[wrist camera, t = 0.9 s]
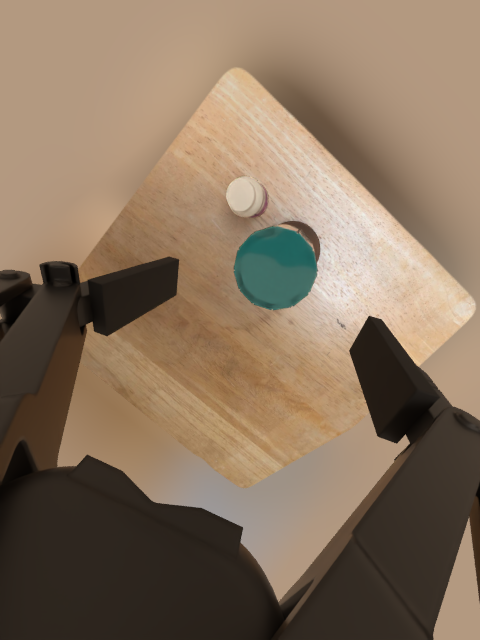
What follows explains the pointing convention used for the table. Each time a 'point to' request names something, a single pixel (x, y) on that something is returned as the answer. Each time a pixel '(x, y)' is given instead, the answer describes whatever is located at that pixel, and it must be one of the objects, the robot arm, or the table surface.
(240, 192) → the pill bottle
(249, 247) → the teal fluted cylinder
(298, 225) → the towel holder
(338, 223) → the table surface
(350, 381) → the table surface
